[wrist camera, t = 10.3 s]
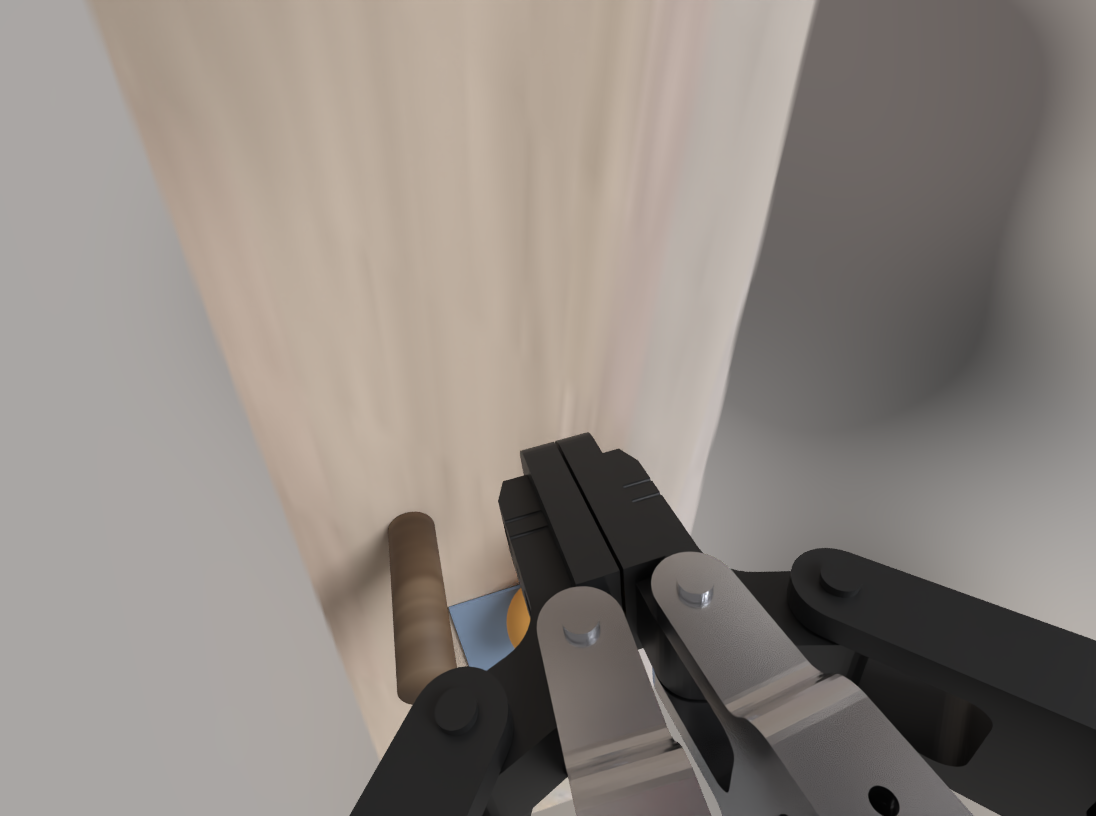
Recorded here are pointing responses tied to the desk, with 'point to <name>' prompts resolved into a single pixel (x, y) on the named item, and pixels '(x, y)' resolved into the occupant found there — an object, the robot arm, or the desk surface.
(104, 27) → the desk surface
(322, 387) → the desk surface
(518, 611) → the ball
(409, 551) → the post
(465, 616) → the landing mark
